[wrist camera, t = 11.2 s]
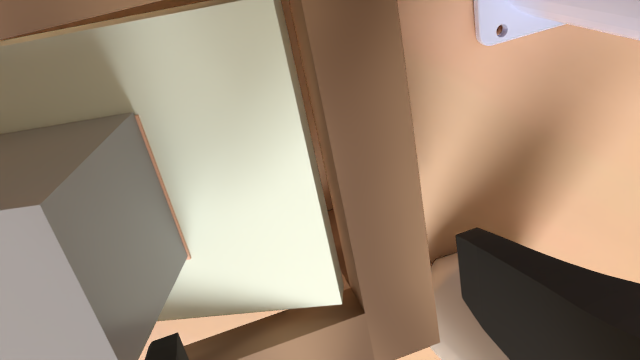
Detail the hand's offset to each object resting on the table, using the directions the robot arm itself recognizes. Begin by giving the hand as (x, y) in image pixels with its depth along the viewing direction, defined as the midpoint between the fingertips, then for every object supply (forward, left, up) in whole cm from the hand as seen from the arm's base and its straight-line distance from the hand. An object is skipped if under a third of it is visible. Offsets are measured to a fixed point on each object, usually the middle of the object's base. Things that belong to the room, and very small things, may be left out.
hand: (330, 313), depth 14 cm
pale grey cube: (+6, -2, -6) cm, 9 cm away
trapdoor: (+3, -2, -6) cm, 8 cm away
